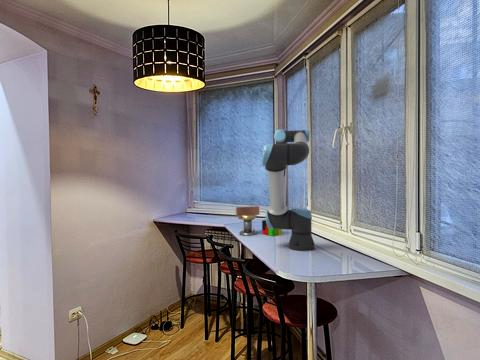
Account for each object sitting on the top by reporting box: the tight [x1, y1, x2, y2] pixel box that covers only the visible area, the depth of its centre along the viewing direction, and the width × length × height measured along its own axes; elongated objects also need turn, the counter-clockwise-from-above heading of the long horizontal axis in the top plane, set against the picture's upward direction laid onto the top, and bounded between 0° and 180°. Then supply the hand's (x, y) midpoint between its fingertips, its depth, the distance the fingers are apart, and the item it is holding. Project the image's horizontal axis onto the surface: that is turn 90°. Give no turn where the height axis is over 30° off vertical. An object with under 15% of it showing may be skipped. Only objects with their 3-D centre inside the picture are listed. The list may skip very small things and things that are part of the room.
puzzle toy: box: [261, 219, 283, 237], centre depth 224 cm, size 10×10×10 cm
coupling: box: [235, 205, 260, 221], centre depth 225 cm, size 17×10×9 cm, turn 110°
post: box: [238, 220, 257, 237], centre depth 225 cm, size 12×12×11 cm
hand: (281, 187), depth 212 cm, fingers closed
